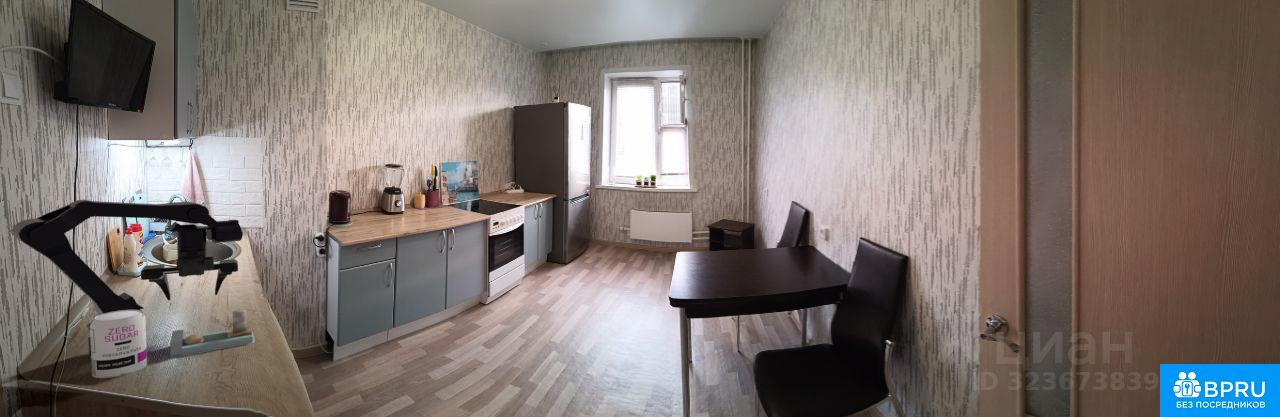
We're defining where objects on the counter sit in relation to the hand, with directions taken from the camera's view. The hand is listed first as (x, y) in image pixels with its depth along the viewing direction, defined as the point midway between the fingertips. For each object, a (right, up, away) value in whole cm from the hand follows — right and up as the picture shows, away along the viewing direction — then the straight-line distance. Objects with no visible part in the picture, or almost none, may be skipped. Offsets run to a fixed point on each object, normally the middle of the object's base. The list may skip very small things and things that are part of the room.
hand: (193, 297), depth 118 cm
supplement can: (+4, -15, -20) cm, 25 cm away
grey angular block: (+6, -12, -9) cm, 17 cm away
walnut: (+8, -12, -7) cm, 16 cm away
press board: (+11, -13, -4) cm, 18 cm away
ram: (+14, -12, -1) cm, 19 cm away
